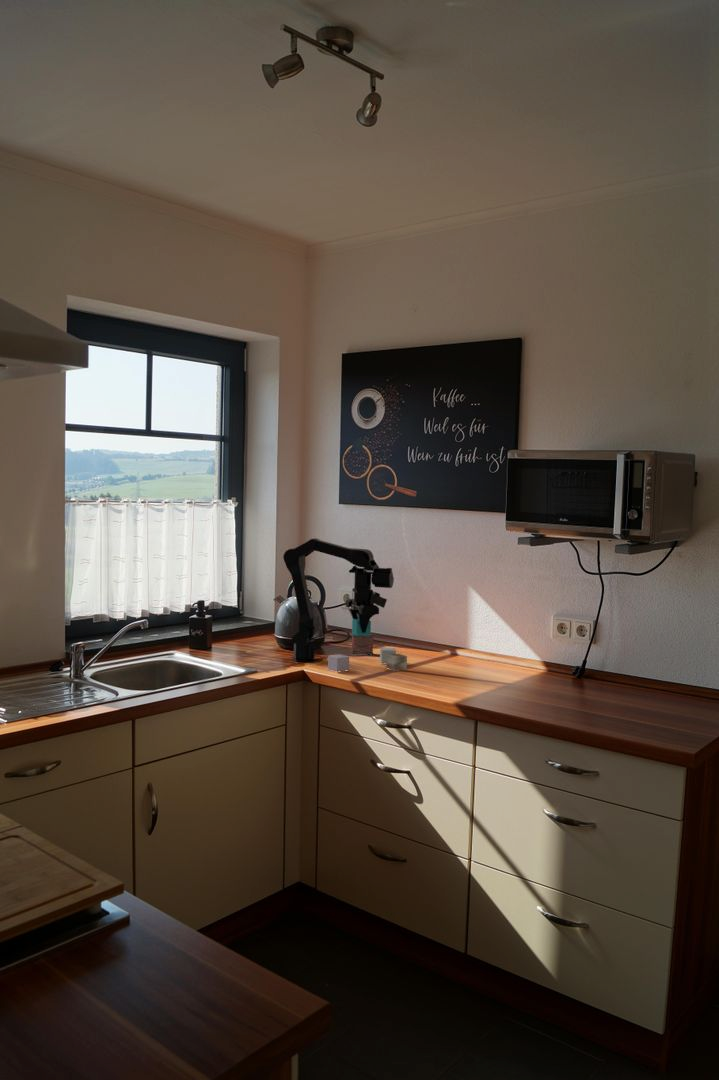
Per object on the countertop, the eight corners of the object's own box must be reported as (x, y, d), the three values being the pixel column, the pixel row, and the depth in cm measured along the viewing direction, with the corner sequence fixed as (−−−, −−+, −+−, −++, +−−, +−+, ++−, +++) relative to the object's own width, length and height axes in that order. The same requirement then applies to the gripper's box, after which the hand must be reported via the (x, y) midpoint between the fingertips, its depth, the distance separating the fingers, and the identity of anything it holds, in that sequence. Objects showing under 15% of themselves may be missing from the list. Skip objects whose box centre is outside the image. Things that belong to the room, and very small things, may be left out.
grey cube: (381, 664, 304) (381, 650, 304) (379, 661, 309) (380, 647, 309) (395, 664, 305) (396, 650, 304) (393, 661, 310) (394, 647, 309)
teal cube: (356, 635, 298) (357, 621, 297) (352, 633, 302) (352, 619, 302) (370, 635, 299) (370, 621, 299) (365, 632, 304) (366, 618, 304)
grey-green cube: (393, 672, 293) (394, 657, 293) (386, 669, 297) (386, 654, 297) (406, 670, 295) (407, 656, 295) (398, 667, 300) (399, 653, 299)
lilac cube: (336, 673, 288) (337, 658, 288) (327, 670, 292) (328, 655, 292) (348, 671, 291) (349, 656, 291) (339, 668, 295) (340, 654, 295)
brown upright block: (373, 653, 322) (374, 626, 321) (372, 655, 319) (373, 628, 318) (351, 652, 323) (352, 625, 322) (350, 654, 320) (351, 627, 319)
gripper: (394, 589, 294) (392, 635, 295) (375, 582, 311) (374, 626, 312) (363, 589, 290) (361, 636, 291) (345, 583, 308) (344, 627, 309)
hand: (361, 631), depth 301 cm, fingers closed on teal cube, 5 cm apart
